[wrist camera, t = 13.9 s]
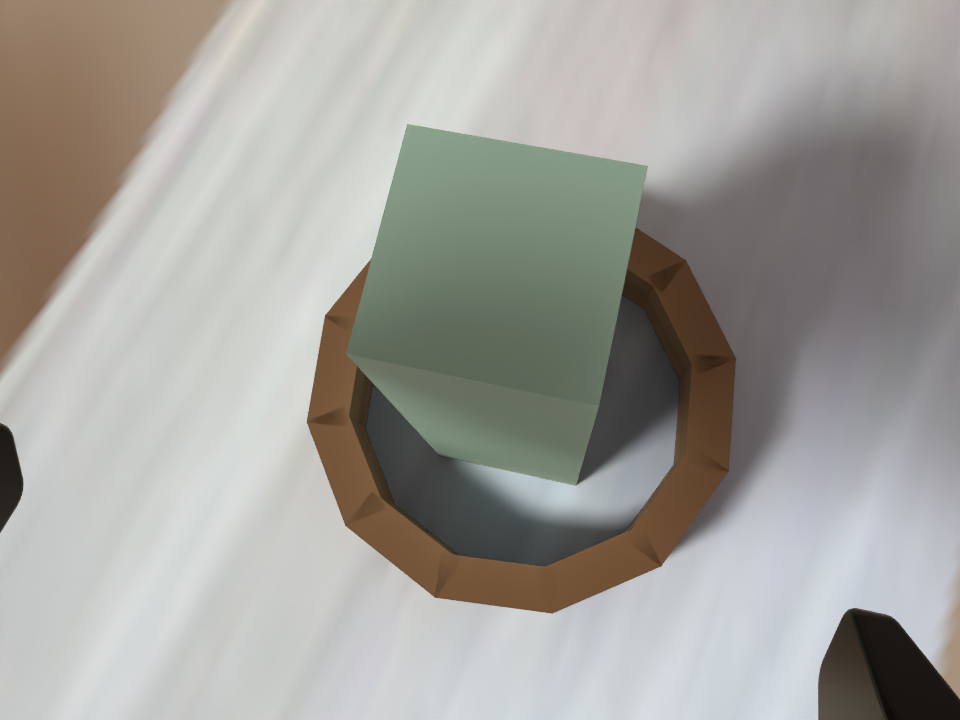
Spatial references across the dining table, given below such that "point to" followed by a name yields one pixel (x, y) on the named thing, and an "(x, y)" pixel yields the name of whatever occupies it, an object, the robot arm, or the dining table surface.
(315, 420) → the walnut ring
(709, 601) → the dining table surface
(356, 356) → the green rectangular block
